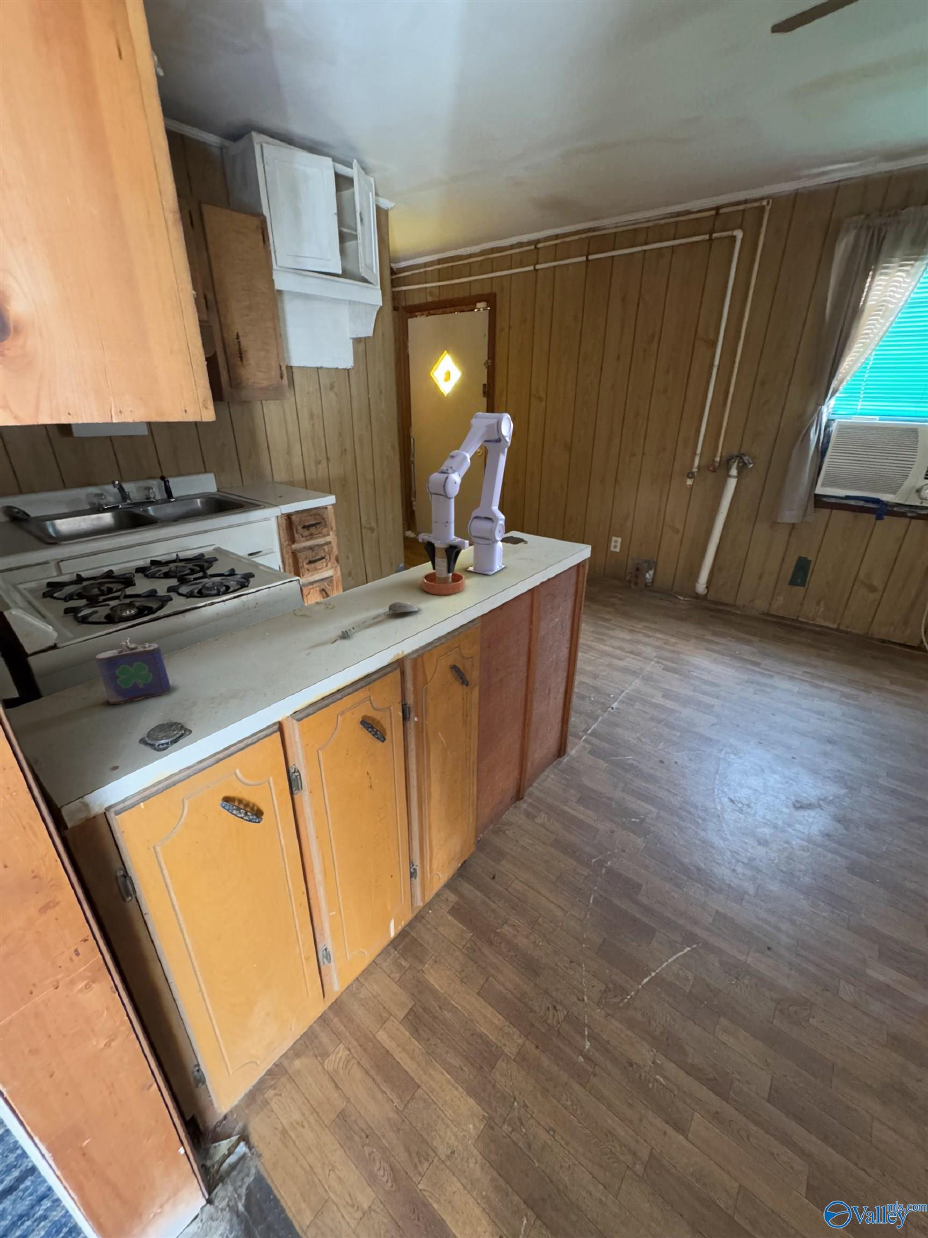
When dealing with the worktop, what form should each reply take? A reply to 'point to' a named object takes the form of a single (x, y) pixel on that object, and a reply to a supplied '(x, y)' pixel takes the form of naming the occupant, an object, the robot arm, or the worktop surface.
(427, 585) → the terracotta plant saucer
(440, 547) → the sprinkles bottle
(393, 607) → the soupspoon
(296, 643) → the worktop surface
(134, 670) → the flask
